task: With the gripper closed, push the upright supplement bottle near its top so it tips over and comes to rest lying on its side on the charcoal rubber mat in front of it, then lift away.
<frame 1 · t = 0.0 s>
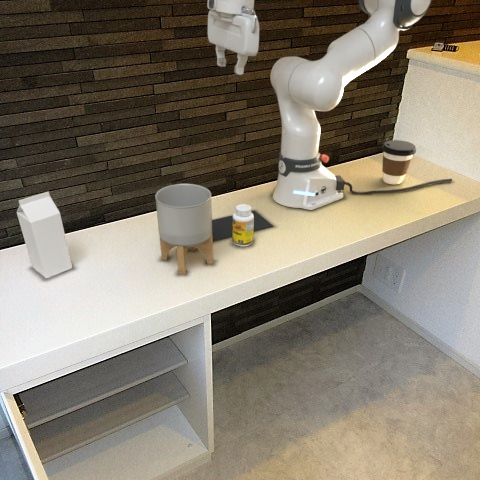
hand: (229, 70, 124), 39 cm above the table, tool pointing down, fingers open, 8 cm apart
coffee cup: (392, 181, 169), on the table
supplement bottle: (242, 243, 134), on the table
planter: (187, 261, 127), on the table
rubber mat: (233, 226, 142), on the table
milk carton: (52, 268, 123), on the table
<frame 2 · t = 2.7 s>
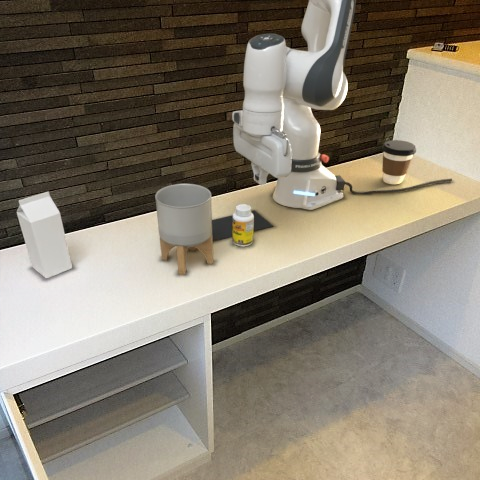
hand: (259, 182, 116), 20 cm above the table, tool pointing down, fingers closed
nothing on the table moved.
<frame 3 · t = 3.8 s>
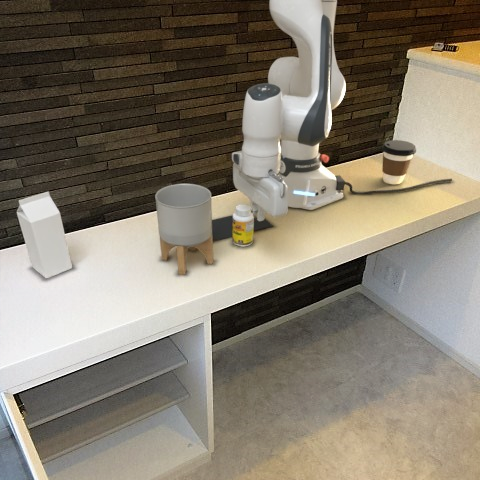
hand: (258, 218, 122), 11 cm above the table, tool pointing down, fingers closed
nothing on the table moved.
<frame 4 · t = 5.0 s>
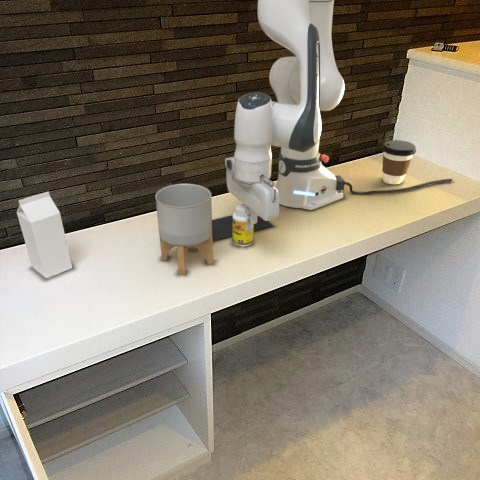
hand: (251, 221, 127), 8 cm above the table, tool pointing down, fingers closed
supplement bottle: (242, 243, 134), on the table, touching gripper
everything else where it was.
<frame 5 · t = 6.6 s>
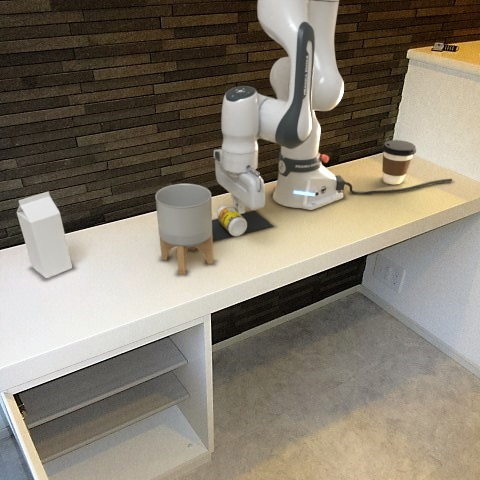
hand: (239, 211, 131), 8 cm above the table, tool pointing down, fingers closed
supplement bottle: (239, 227, 134), point 3 cm above the table, touching rubber mat
everything else where it was.
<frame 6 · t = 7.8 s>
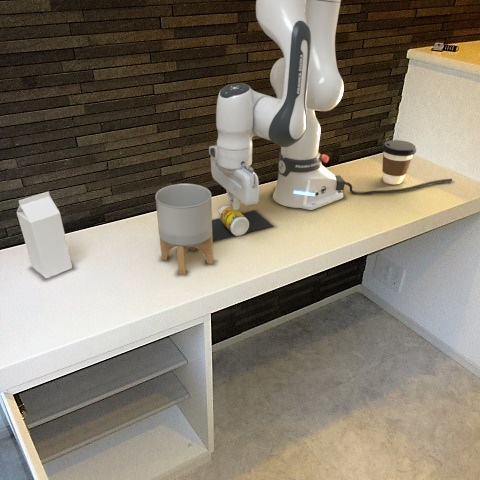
hand: (234, 207, 133), 8 cm above the table, tool pointing down, fingers closed
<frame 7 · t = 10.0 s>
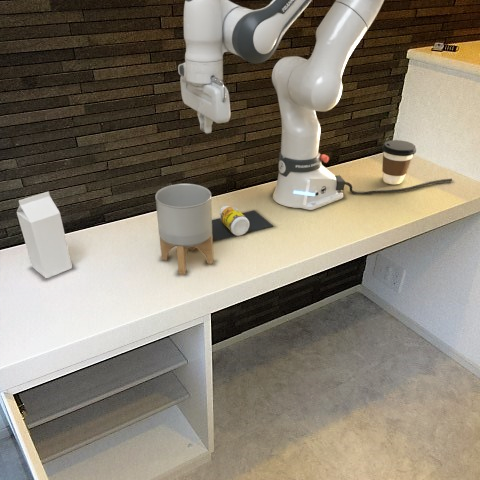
hand: (206, 131, 127), 26 cm above the table, tool pointing down, fingers closed
nothing on the table moved.
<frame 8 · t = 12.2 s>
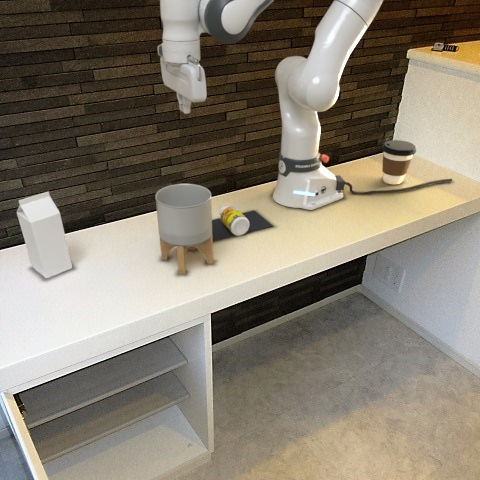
hand: (185, 112, 129), 29 cm above the table, tool pointing down, fingers closed
nothing on the table moved.
at the end: supplement bottle tilted 90°; supplement bottle inside the target area (3.0 cm from its centre), point 3.1 cm above the table; planter moved 0.2 cm from its start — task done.
